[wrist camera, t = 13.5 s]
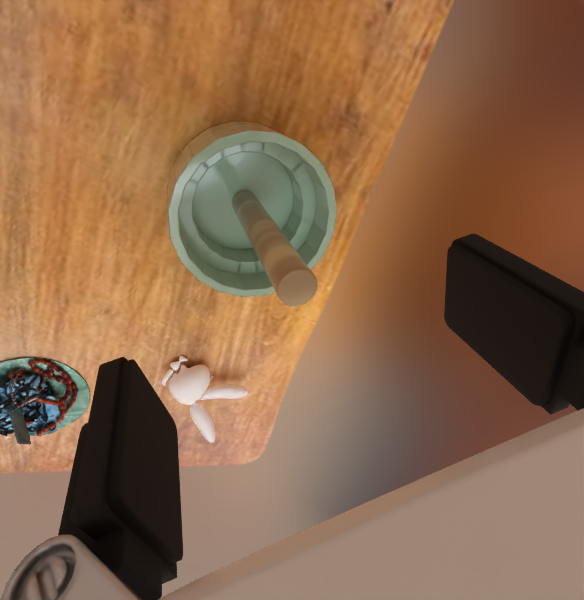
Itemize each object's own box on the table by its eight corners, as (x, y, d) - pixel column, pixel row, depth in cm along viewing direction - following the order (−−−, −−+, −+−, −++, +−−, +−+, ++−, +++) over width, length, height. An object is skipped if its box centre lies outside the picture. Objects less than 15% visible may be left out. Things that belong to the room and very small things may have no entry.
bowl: (141, 144, 25) (136, 162, 21) (293, 102, 27) (322, 109, 22) (198, 279, 32) (204, 316, 27) (318, 239, 33) (345, 268, 28)
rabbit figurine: (195, 338, 35) (256, 393, 36) (189, 343, 38) (245, 394, 39) (147, 387, 32) (215, 446, 33) (146, 388, 36) (207, 441, 37)
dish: (-62, 387, 27) (14, 452, 27) (30, 327, 32) (96, 381, 32) (-31, 418, 33) (32, 471, 33) (42, 363, 38) (98, 409, 38)
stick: (228, 194, 28) (272, 277, 17) (253, 186, 28) (314, 263, 17) (236, 218, 29) (282, 312, 18) (259, 210, 29) (321, 298, 18)
